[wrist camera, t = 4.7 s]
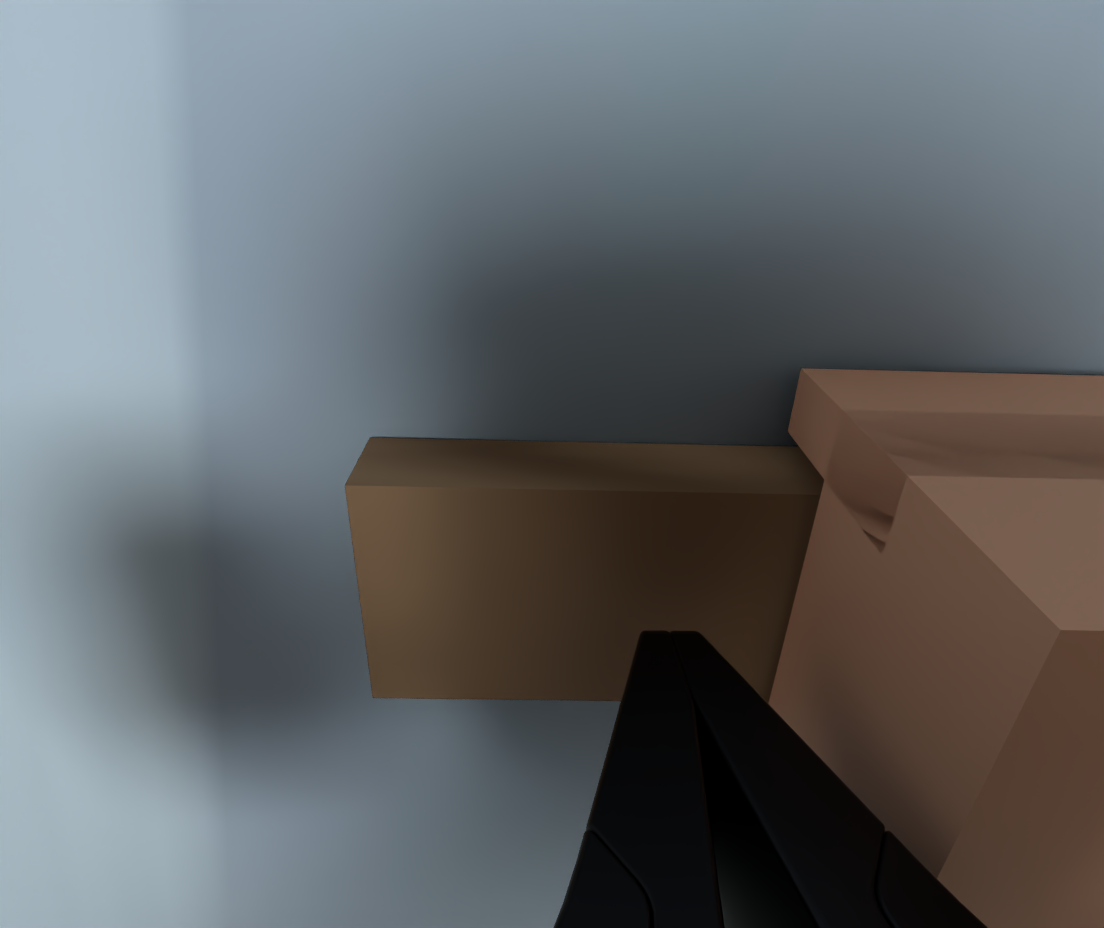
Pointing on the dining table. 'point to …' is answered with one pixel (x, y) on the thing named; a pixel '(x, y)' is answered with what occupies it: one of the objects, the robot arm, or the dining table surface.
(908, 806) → the block
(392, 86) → the dining table surface
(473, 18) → the dining table surface
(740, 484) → the rail
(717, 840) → the robot arm
